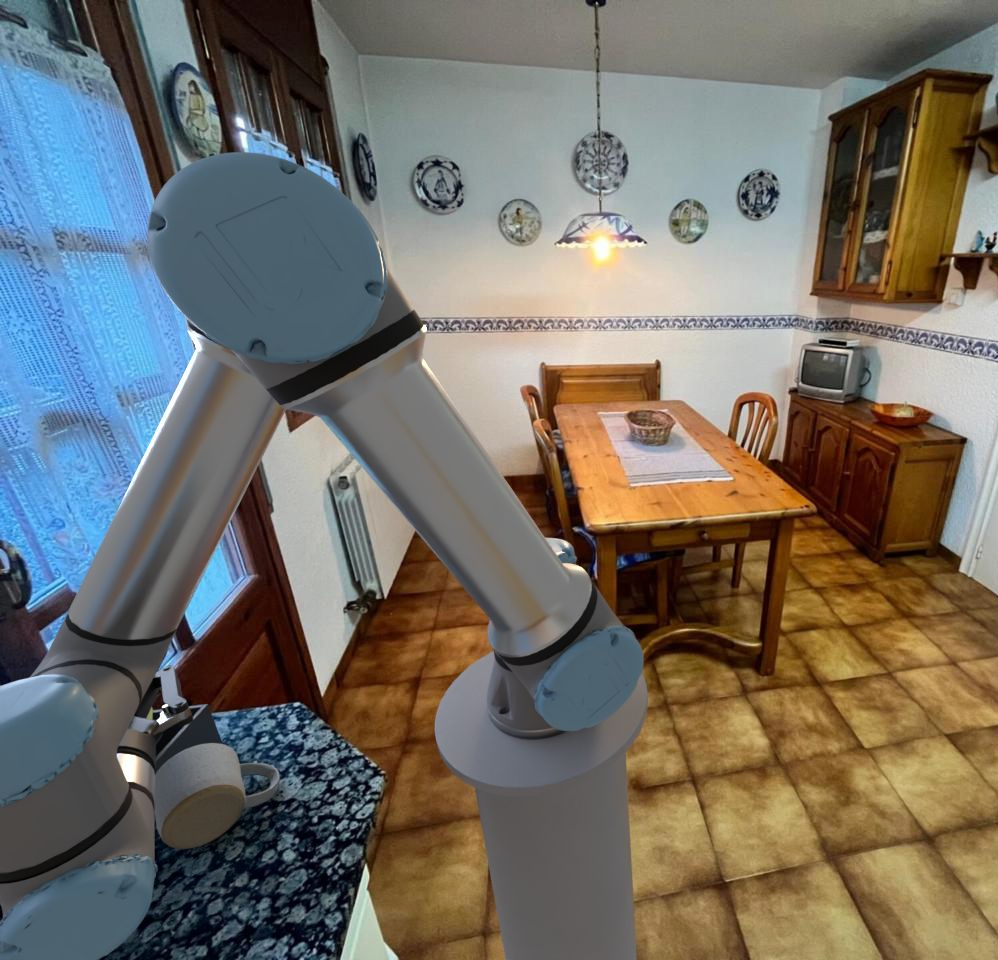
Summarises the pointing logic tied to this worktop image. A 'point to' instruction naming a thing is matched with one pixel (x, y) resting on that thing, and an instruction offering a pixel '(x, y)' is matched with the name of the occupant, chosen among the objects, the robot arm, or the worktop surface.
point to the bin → (186, 734)
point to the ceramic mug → (205, 794)
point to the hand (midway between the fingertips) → (114, 665)
